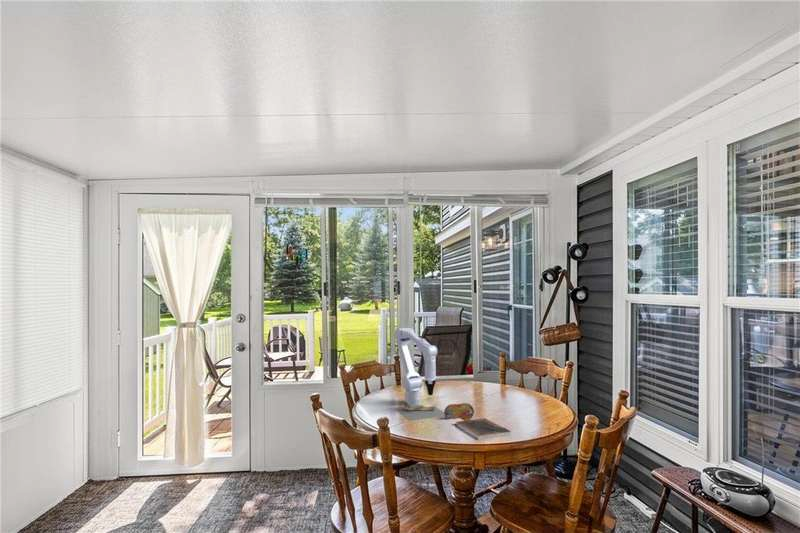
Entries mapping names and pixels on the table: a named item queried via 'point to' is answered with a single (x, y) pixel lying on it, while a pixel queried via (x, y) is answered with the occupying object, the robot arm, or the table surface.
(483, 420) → the picture frame
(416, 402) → the keeper
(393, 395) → the table surface
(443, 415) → the board
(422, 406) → the link
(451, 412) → the tin
